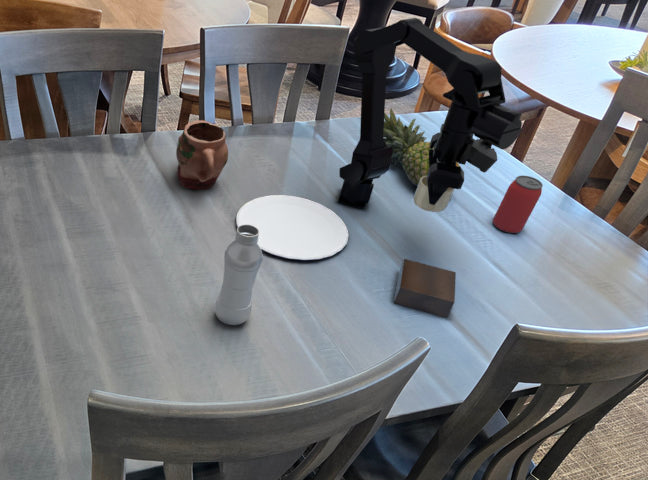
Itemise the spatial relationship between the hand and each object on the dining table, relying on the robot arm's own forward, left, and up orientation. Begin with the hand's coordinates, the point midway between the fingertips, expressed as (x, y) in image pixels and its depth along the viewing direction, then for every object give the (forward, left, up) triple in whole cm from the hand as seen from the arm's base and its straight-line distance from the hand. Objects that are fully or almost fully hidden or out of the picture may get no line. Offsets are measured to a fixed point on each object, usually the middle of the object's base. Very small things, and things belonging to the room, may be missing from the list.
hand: (432, 195), depth 132 cm
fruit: (-4, +34, -12) cm, 36 cm away
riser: (+3, -18, -12) cm, 22 cm away
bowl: (0, 0, -2) cm, 2 cm away
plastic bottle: (-30, -41, -12) cm, 52 cm away
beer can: (+20, +17, -12) cm, 29 cm away
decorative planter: (-51, +2, -12) cm, 53 cm away
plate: (-26, -7, -12) cm, 30 cm away
